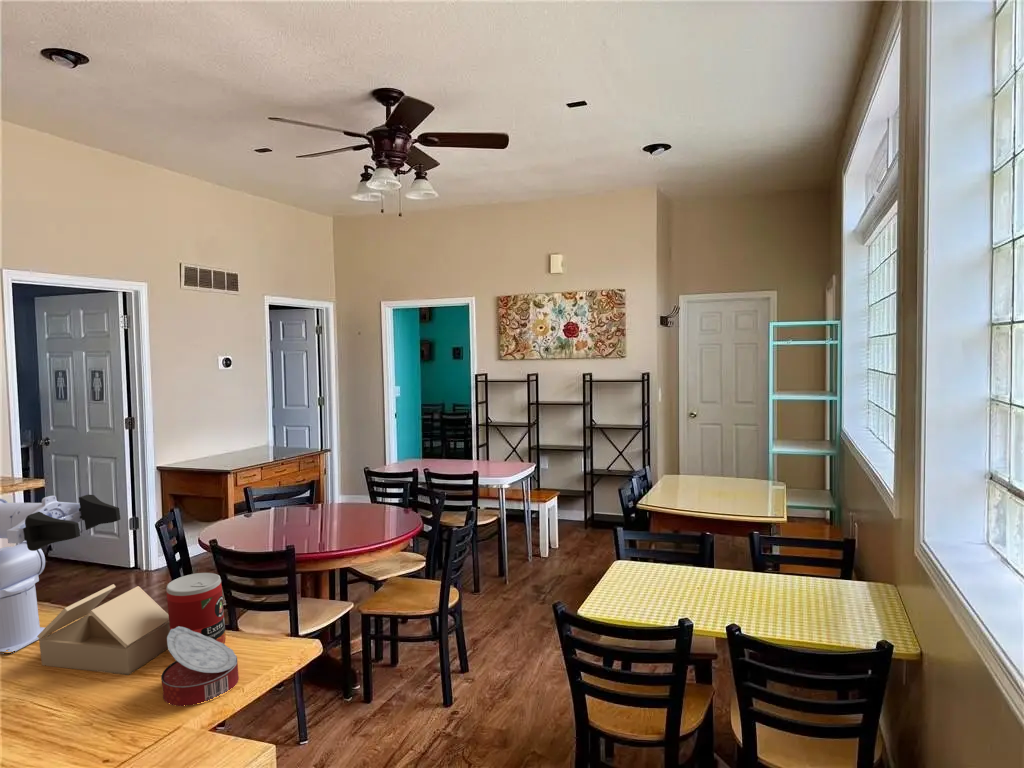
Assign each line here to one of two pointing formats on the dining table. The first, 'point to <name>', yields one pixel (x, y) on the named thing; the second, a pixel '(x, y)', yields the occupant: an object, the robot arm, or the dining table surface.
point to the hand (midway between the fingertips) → (98, 521)
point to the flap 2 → (130, 616)
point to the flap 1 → (76, 611)
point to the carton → (99, 648)
